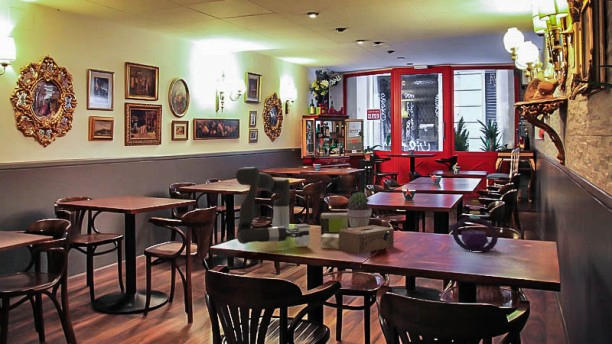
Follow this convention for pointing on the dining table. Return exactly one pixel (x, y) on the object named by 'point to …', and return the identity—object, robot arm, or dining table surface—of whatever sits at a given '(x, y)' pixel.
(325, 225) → the tea box
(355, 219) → the potted plant
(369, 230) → the tissue box cover
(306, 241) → the canister
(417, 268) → the dining table surface
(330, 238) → the chevron patterned box
